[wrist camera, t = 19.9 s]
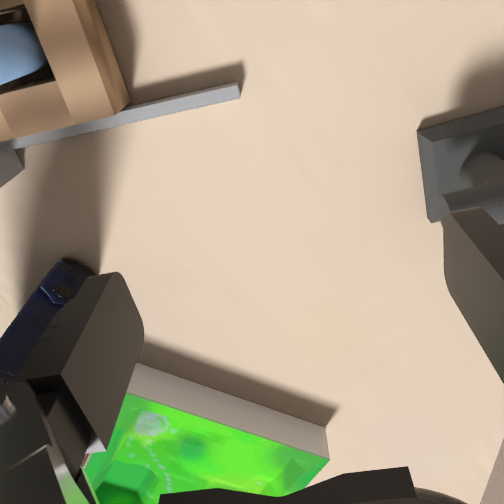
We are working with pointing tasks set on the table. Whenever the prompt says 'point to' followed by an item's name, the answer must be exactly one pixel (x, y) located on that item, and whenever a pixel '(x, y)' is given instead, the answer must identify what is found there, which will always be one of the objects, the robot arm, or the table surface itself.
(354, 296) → the table surface
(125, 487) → the tray
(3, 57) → the dowel
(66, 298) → the book
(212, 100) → the backstop
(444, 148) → the faucet
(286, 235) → the table surface
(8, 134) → the socket block
